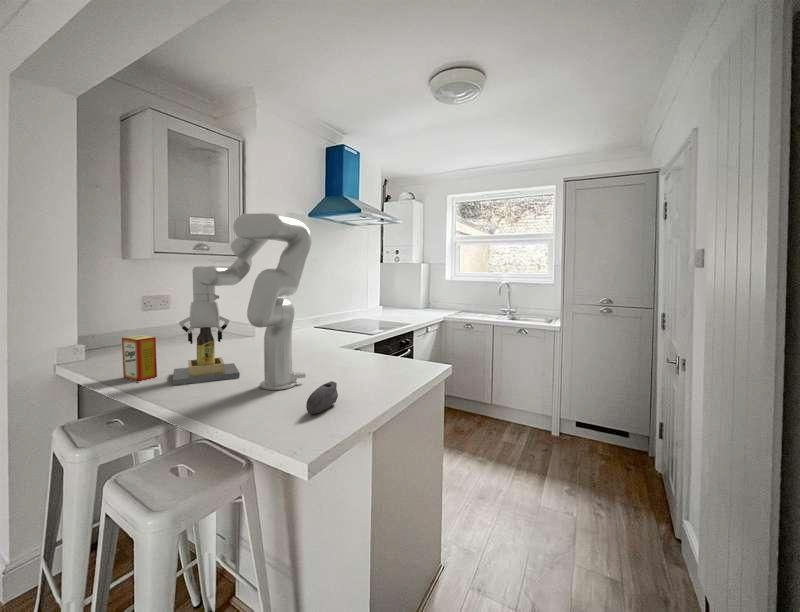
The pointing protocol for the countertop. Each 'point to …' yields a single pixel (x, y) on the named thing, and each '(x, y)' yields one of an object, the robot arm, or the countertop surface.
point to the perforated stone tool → (322, 398)
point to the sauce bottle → (205, 347)
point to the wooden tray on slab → (205, 372)
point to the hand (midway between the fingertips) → (205, 342)
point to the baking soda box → (139, 357)
